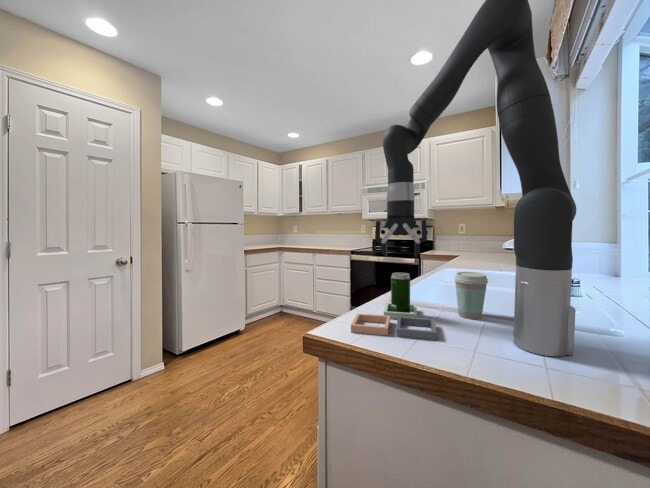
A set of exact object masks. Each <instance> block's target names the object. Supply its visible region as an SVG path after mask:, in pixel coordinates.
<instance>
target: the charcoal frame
mask: <svg viewBox="0 0 650 488" xmlns="http://www.w3.org/2000/svg"><path fill="white" fill-rule="evenodd" d="M396 320H397V321H396V328H395V329H396V331H395V333H396V336H395V337H399V338H408V339H421V340H430V341H432V340H433V341H438V331H437V327H436V324H435V320H434V319H433V318H424V317H423V318H422V317H417V318H411V317H398V319H396ZM402 325H404V326H415V327H419V326H420V327H429V328H430V330H426V329H416V328H415V329H414V328H413V329H412V328H405V327H401V326H402Z"/></svg>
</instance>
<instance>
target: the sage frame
mask: <svg viewBox="0 0 650 488" xmlns="http://www.w3.org/2000/svg"><path fill="white" fill-rule="evenodd" d="M389 310H390V311H389ZM383 316H390V320H392V319H393V320H397V319H398V317H411V318H418V310H417V304H411V303H410V313H404V312H391V302H385V306H384V309H383Z"/></svg>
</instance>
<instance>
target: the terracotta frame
mask: <svg viewBox="0 0 650 488" xmlns="http://www.w3.org/2000/svg"><path fill="white" fill-rule="evenodd" d="M360 322H364V323H365V322H368V323H381V324H384V326H381V325H368V324H367V325H366V324H365V325H364V324H360ZM390 326H391V319H390V316H384V314H383V315H381V314H380V315H379V314H366V313H356V315H355V317H354V318H353V321H352V322H351V324H350V333H353V334H354V333H355V334H356V333H357V334H365V335H368V334H369V335H378V336H389V331H390Z"/></svg>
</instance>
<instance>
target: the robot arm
mask: <svg viewBox="0 0 650 488" xmlns="http://www.w3.org/2000/svg"><path fill="white" fill-rule="evenodd" d="M532 15H533V13H532V10H531V6H530V2H529V0H484V2H483V3H482V4H481V6H480V8H479V9H478V11H477V12H476V14H475V15H474V17H473V18H472V20H471V21H470V23H469V25H468V27H467V29H465V31H464V33H463V35H462V36H461V38H460V40H459V41H458V43H457V44H456V45H455V47H454V49H453V50H452V52H451V53H450V55H449V56H448V58H447V60H446V61H445V63H444V64H443V65H442V68H440V70H439V71H438V73H437V74H436V76H435V77H434V78H433V80H432V81H431V82H430V84H429V85H428V86H427V87H426V89H425V90H424V91H423V93H422V94H421V95H420V96H419V98H417V100H416V101H415V103H413V105H412V106H411V108H410V109H409V111H408V112H409V113H408V114H409V117H410V119H409V121H408V123H407V124H406V126H403V125H400V124H393V125H391V126H390V127H388V128H387V130H386V131H385V132H384V136H383V139H382V147H383V149H382V150H383V153H384V154H383V155H384V158H385V162H386V166H387V190H386V220H385V221H380V220H376V222H375V232H374V233H375V235H374V241H375V242H379V243H380V244H381V254H382V255H383V257H387V256H388V243H387V241H388V240H389V239H390V237H391V236H392V235H393V236H396V237H397V236H408V235H409V236H410V237H411V238H412V240H413V241H414V257H415V258H418V256H419V255H420V254H421V244H422V243H423V242H424V243H425V242H427V240H428V235H427V234H428V233H427V231H428V230H427V221H426V220H425V219H422V220H416V219H415V199H416V198H415V197H416V196H415V195H416V194H415V187H414V186H415V185H414V181H415V179H414V178H415V176H414V171H415V169H414V165H413V163H412V162H411V161H410V160H409V157H408V156H409V154H412V152H414V151H415V150H416V149H417V148H418V147H419V146H420V144H421V143H422V141H423V139H424V138H425V136H426V135H427V134H428V131H429V129H430V127H431V126H432V125H433V123H435V121H436V120H437V119H438V118H439V117H440V116H441V115H442V114H443V113H444V111H446V110H447V108H448V107H449V106H450V104H451V103H452V101H453V100H454V98H455V96H456V95H457V93H458V92H459V90H460V88H461V87H462V84H463V82H464V81H465V78H466V77H467V75H468V73H469V72H470V70H471V69H472V67H473V66H474V64H475V62H476V61H477V60H478V59H479V57H480V56H481V55H482V54H483V53H484V52H485V50H488V52H489V55H490V57H491V60H492V63H493V66H494V67H493V68H494V69H495V74H496V78H497V80H496V82H497V88H496V89H497V90H496V113H497V118H498V123H499V128H500V132H501V136H502V139H503V142H504V144H505V146H506V148H507V151H508V153H509V156H510V157H511V160H512V162H513V164H514V166H515V168H516V170H517V173H518V177H519V181H520V186H521V187H520V188H521V193H522V194H521V195H522V196H521V197H520V199H519V200H518V201H517V203H516V205H515V208H514V214H513V215H514V216H513V251H514V255H515V276H514V277H515V279H514V280H515V281H514V282H515V284H514V285H515V286H514V311H513V313H514V315H513V344H515V346H516V347H518V348H520V349H522V350H524V351H527V352H530V353H533V354H536V355H541V356H546V357H563V356H567V355H568V356H569V355H570V356H574V350H575V347H574V346H575V331H576V330H575V326H576V324H575V323H576V307H574V306H572V305H571V300H572V299H571V296H572V278H573V276H572V274H573V261H574V259H573V258H574V256H573V249H572V248H573V247H572V246H573V245H572V243H573V241H572V238H573V221H574V219H575V218H576V215H577V204H576V202H575V199H574V197H573V195H572V193H571V190H570V188H569V186H568V183H567V180H566V177H565V174H564V170H563V168H562V167H563V166H562V164H561V159H560V157H561V156H560V148H559V147H560V146H559V139H558V131H557V129H558V128H557V123H556V118H555V117H556V116H555V111H554V107H553V102H552V98H551V95H550V91H549V88H548V85H547V81H546V79H545V77H544V74H543V72H542V70H541V68H540V65H539V64H538V63H539V62H538V60H537V57H536V52H535V44H534V30H533V16H532ZM416 225H417V226H418V228H419V229H421V237H418V236H417V235H416V233H415V232H414V231H413V229H414V228H415V226H416ZM384 226H386V228H387V230H388V231H387V233H386V234H385V235H384V237H383V238H382V237H381V229H383V228H384Z"/></svg>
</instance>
